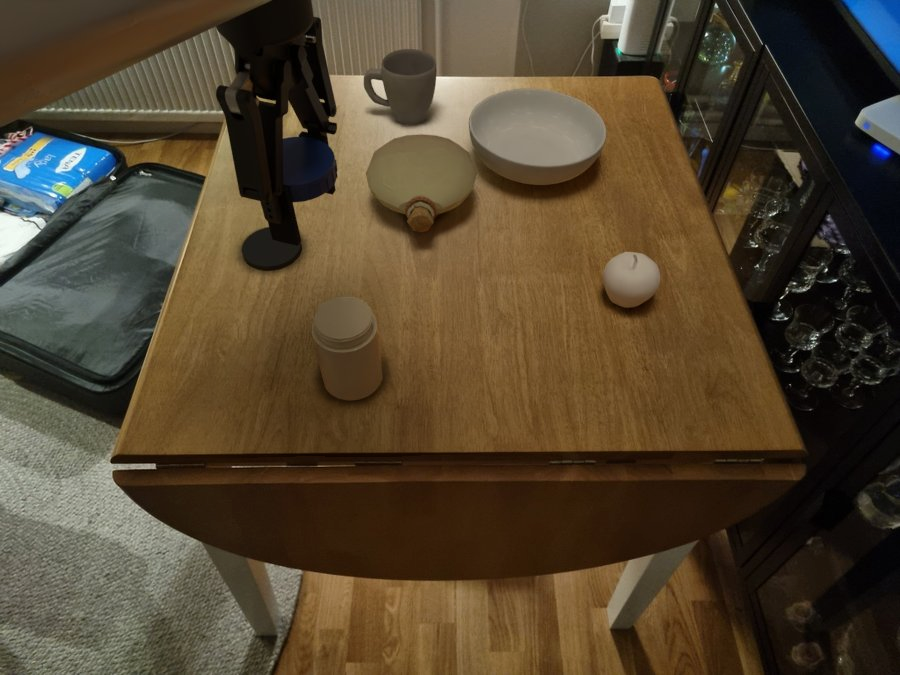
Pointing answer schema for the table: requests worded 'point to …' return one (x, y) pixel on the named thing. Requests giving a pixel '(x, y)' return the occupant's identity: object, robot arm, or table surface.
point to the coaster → (268, 251)
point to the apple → (631, 279)
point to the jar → (348, 347)
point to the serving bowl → (536, 135)
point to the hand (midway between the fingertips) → (305, 213)
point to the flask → (421, 177)
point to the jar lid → (308, 167)
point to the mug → (405, 84)
